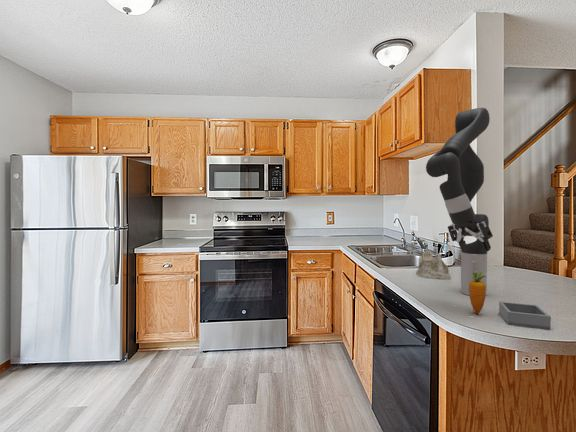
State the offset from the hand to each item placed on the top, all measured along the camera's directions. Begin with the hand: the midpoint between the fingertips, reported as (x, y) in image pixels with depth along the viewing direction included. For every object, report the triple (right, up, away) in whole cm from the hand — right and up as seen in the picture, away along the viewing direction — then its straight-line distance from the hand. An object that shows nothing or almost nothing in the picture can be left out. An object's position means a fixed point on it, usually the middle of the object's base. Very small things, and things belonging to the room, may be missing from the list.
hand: (476, 250), depth 107 cm
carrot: (-2, -22, -3) cm, 22 cm away
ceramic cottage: (+9, -19, +51) cm, 55 cm away
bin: (+9, -21, -9) cm, 25 cm away
